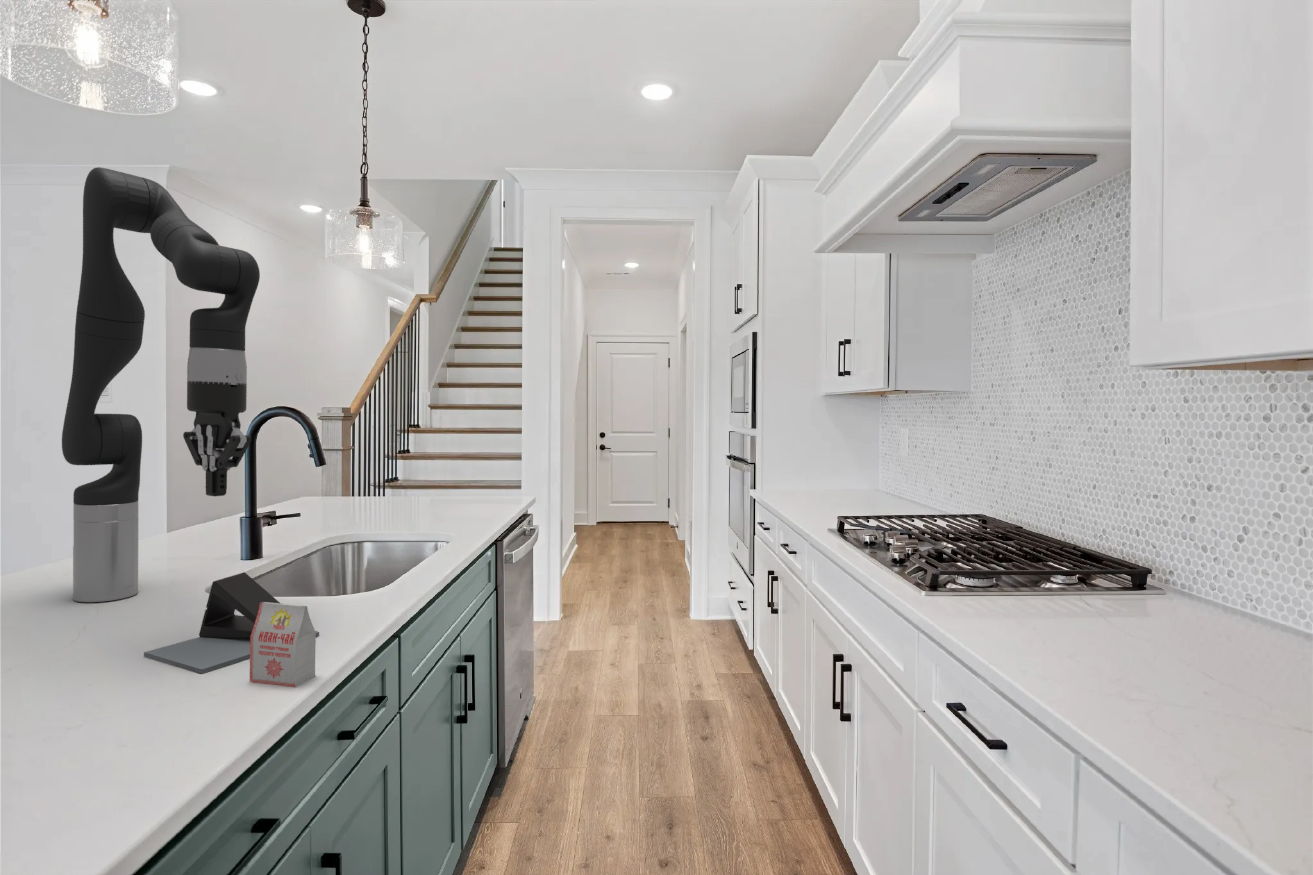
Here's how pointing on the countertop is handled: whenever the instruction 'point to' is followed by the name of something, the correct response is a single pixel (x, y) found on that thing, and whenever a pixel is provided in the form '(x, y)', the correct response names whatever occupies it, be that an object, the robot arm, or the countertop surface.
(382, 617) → the countertop surface
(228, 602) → the phone stand
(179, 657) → the mat
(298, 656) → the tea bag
